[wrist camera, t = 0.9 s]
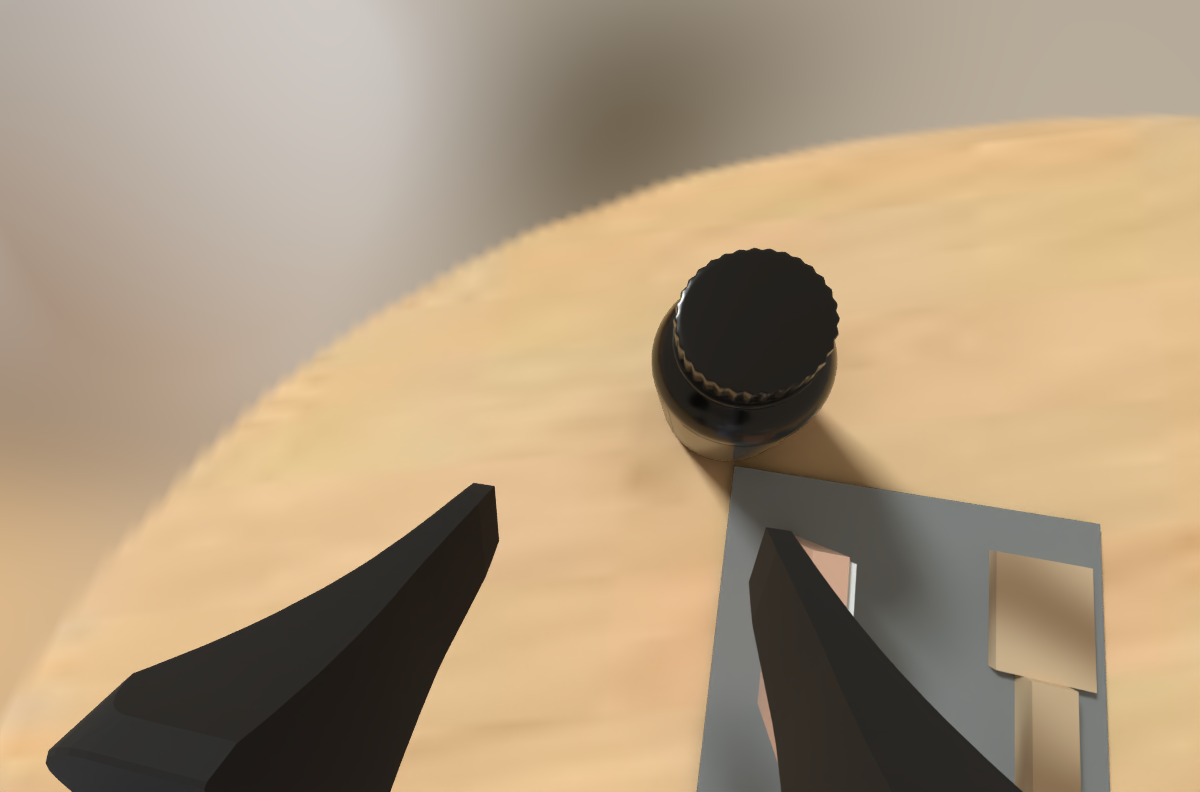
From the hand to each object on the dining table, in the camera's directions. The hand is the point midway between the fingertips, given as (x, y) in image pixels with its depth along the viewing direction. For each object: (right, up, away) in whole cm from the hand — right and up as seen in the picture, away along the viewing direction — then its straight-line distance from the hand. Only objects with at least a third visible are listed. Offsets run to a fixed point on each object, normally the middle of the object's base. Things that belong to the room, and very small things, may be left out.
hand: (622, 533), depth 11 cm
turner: (+18, -11, +7) cm, 22 cm away
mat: (+13, -9, +9) cm, 18 cm away
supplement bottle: (+6, +3, +13) cm, 15 cm away
